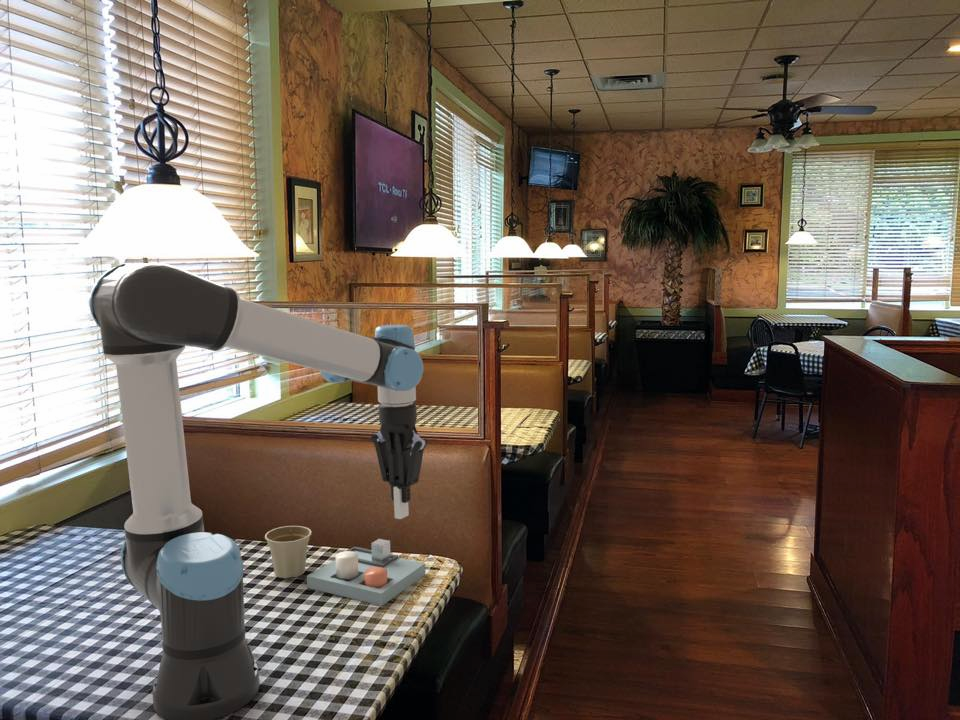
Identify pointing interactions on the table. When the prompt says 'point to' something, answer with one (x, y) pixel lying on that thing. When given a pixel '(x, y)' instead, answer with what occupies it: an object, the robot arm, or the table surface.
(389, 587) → the panel
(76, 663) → the table surface
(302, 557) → the flower pot
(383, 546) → the grey stone cube
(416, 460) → the robot arm
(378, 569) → the salmon orange egg
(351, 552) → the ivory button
